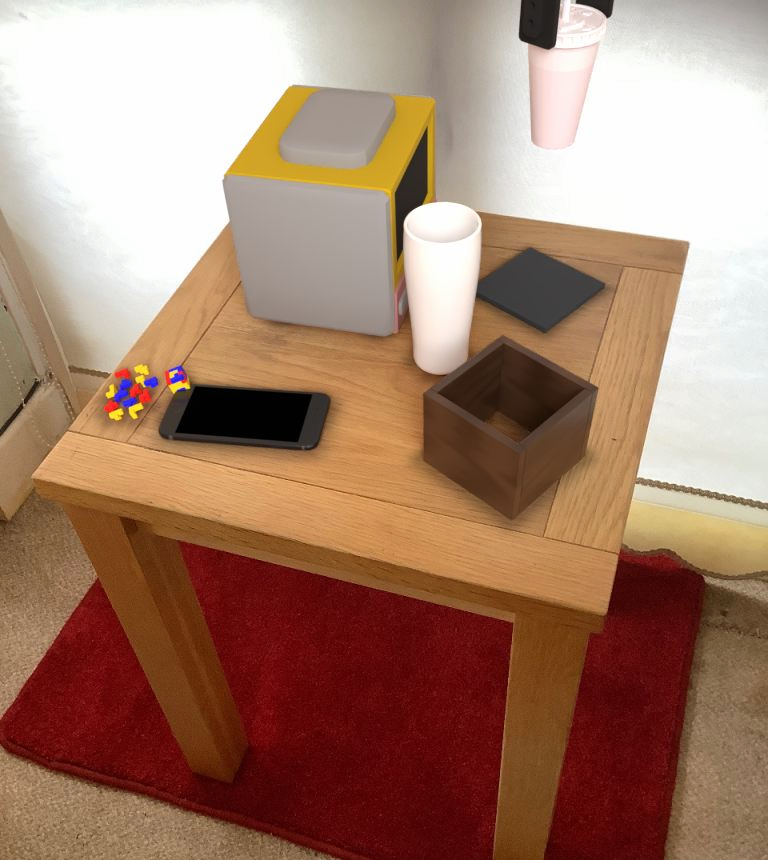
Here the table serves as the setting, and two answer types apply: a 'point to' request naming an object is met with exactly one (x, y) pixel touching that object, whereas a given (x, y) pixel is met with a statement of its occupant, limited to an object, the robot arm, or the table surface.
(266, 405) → the smartphone
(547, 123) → the smoothie
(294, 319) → the alarm clock
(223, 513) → the table surface
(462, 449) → the holder
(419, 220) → the drinking glass
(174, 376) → the building blocks
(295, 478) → the table surface
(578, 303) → the mat
